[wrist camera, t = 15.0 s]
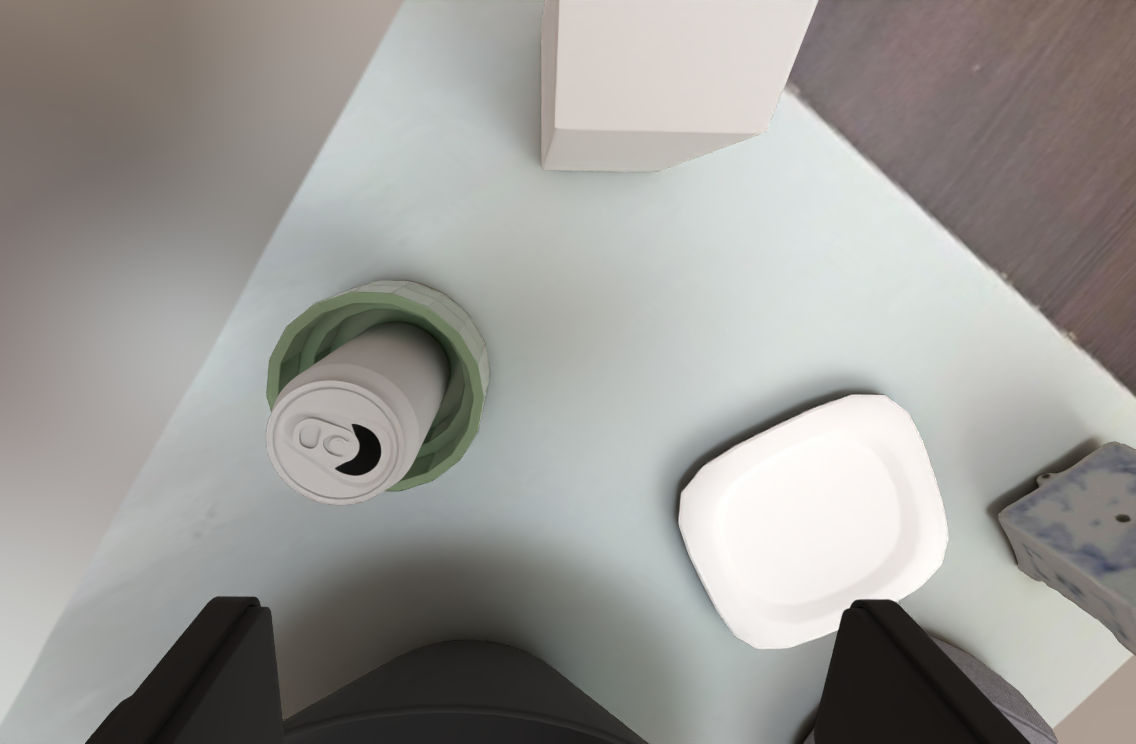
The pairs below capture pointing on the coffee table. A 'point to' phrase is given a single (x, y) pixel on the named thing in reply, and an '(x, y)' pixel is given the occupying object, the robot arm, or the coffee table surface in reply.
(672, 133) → the milk carton
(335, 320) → the green round dish
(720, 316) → the coffee table surface
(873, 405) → the plate
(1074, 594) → the incense holder
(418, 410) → the beverage can
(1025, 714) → the grey rounded bag
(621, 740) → the bowl
